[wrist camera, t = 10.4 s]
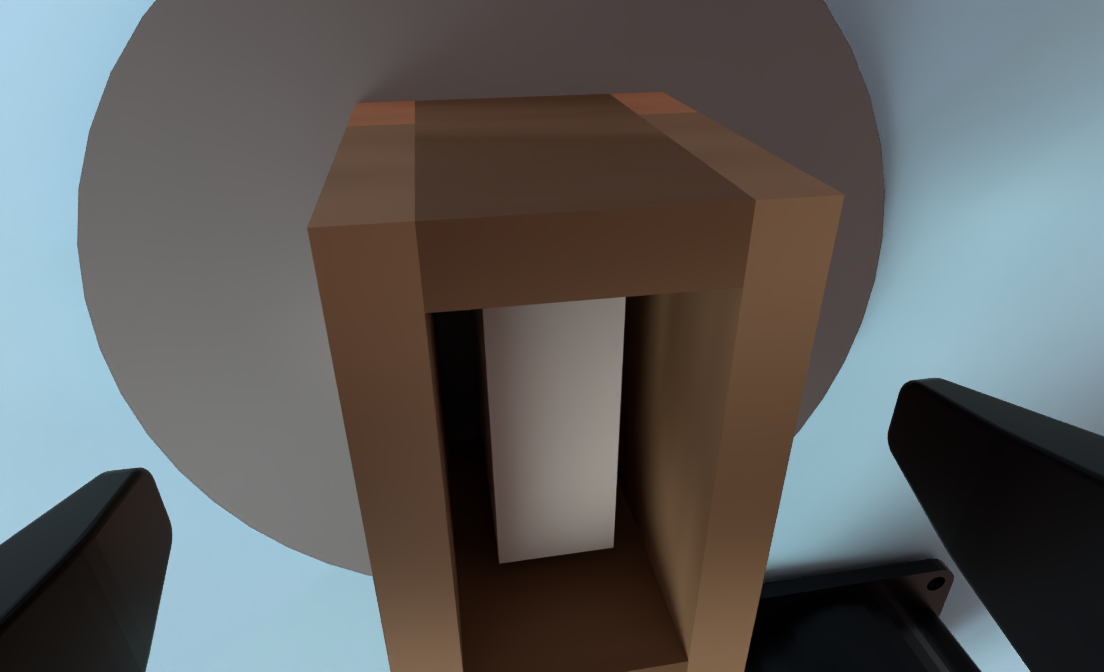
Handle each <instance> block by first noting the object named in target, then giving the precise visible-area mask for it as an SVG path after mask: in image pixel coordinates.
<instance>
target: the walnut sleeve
mask: <svg viewBox="0 0 1104 672" xmlns="http://www.w3.org/2000/svg"><path fill="white" fill-rule="evenodd" d="M844 196H845V195H844V194H843V193H841V192H839V191H837V190H836V189H834V188H832V187H830V186H828V185H827V184H825V183H823V182H821V181H820V180H818V179H816V178H814V177H812V176H811V175H809V174H807V173H805V172H804V171H802V170H800V169H798V168H796V167H795V166H793V165H791V164H789V163H788V162H786V161H784V160H782V159H781V158H779V157H777V156H775V155H773V154H772V153H770V152H768V151H766V150H765V149H763V148H761V147H759V146H757V145H756V144H754V143H752V142H750V141H749V140H747V139H745V138H743V137H741V136H740V135H738V134H736V133H734V132H733V131H731V130H729V129H727V128H725V127H724V126H722V125H720V124H718V123H717V122H715V121H713V120H711V119H709V118H708V117H706V116H704V115H702V114H701V113H699V112H697V111H695V110H693V109H692V108H690V107H688V106H686V105H685V104H683V103H681V102H679V101H677V100H676V99H674V98H672V97H670V96H669V95H667V94H665V93H663V92H643V93H615V94H588V95H560V96H532V97H505V98H477V99H449V100H421V101H394V102H366V103H356V104H355V107H354V109H353V112H352V114H351V117H350V120H349V122H348V125H347V127H346V130H345V132H344V135H343V137H342V140H341V143H340V145H339V148H338V150H337V153H336V155H335V158H334V160H333V163H332V166H331V168H330V171H329V173H328V176H327V178H326V181H325V183H324V186H323V189H322V191H321V194H320V196H319V199H318V201H317V204H316V206H315V209H314V212H313V214H312V217H311V219H310V222H309V224H308V227H307V230H308V235H309V241H310V246H311V251H312V257H313V262H314V267H315V273H316V278H317V283H318V288H319V294H320V299H321V304H322V310H323V315H324V320H325V326H326V331H327V336H328V341H329V347H330V352H331V357H332V363H333V368H334V373H335V379H336V384H337V389H338V395H339V400H340V405H341V410H342V416H343V421H344V426H345V432H346V437H347V442H348V448H349V453H350V458H351V464H352V469H353V474H354V479H355V485H356V490H357V495H358V501H359V506H360V511H361V517H362V522H363V527H364V533H365V538H366V543H367V548H368V554H369V559H370V564H371V570H372V575H373V580H374V586H375V591H376V596H377V602H378V607H379V612H380V617H381V623H382V628H383V633H384V639H385V644H386V649H387V655H388V660H389V665H390V670H391V672H744V670H745V665H746V660H747V656H748V651H749V646H750V641H751V637H752V632H753V627H754V622H755V618H756V613H757V608H758V603H759V599H760V594H761V589H762V584H763V580H764V575H765V570H766V565H767V561H768V556H769V551H770V547H771V542H772V537H773V532H774V528H775V523H776V518H777V513H778V509H779V504H780V499H781V494H782V490H783V485H784V480H785V475H786V471H787V466H788V461H789V456H790V452H791V447H792V442H793V437H794V433H795V428H796V423H797V418H798V414H799V409H800V404H801V400H802V395H803V390H804V385H805V381H806V376H807V371H808V366H809V362H810V357H811V352H812V347H813V343H814V338H815V333H816V328H817V324H818V319H819V314H820V309H821V305H822V300H823V295H824V290H825V286H826V281H827V276H828V271H829V267H830V262H831V257H832V253H833V248H834V243H835V238H836V234H837V229H838V224H839V219H840V215H841V210H842V205H843V200H844ZM618 297H626V301H625V322H624V342H623V362H622V383H621V403H620V423H619V444H618V464H617V485H616V505H615V525H614V546H613V548H607V549H600V550H593V551H586V552H579V553H571V554H564V555H557V556H550V557H543V558H536V559H529V560H522V561H515V562H508V563H500V564H499V558H498V551H497V543H496V536H495V529H494V522H493V514H492V507H491V500H490V493H489V486H488V478H487V471H486V464H485V457H484V449H483V442H482V439H473V440H463V441H454V442H448V434H447V424H446V414H445V404H444V394H443V383H442V373H441V363H440V353H439V343H438V332H437V322H436V312H447V311H459V310H471V309H484V308H496V307H508V306H520V305H533V304H545V303H557V302H569V301H582V300H594V299H606V298H618Z"/></svg>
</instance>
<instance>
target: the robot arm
mask: <svg viewBox="0 0 1104 672" xmlns="http://www.w3.org/2000/svg"><path fill="white" fill-rule="evenodd" d="M888 444H889V448H890V451H891V453H892V455H893V456H894V458H895V460H896V462H897V464H898V465H899V467H900V469H901V471H902V472H903V474H904V476H905V478H906V480H907V481H908V483H909V485H910V487H911V488H912V490H913V492H914V494H915V496H916V497H917V499H918V501H919V503H920V504H921V506H922V508H923V510H924V512H925V513H926V515H927V517H928V519H929V521H930V522H931V524H932V526H933V528H934V529H935V531H936V533H937V535H938V536H939V538H940V540H941V541H942V543H943V545H944V547H945V548H946V550H947V552H948V553H949V555H950V556H951V558H952V559H953V561H954V562H955V564H956V565H957V567H958V568H959V570H960V571H961V573H962V574H963V576H964V577H965V578H966V580H967V581H968V583H969V584H970V586H971V587H972V588H973V590H974V591H975V593H976V594H977V596H978V597H979V599H980V600H981V601H982V603H983V604H984V606H985V607H986V609H987V610H988V611H989V613H990V614H991V616H992V617H993V619H994V620H995V621H996V623H997V624H998V626H999V627H1000V629H1001V630H1002V632H1003V633H1004V634H1005V636H1006V637H1007V639H1008V640H1009V642H1010V643H1011V644H1012V646H1013V647H1014V649H1015V650H1016V652H1017V653H1018V655H1019V656H1020V657H1021V659H1022V660H1023V662H1024V663H1025V665H1026V666H1027V667H1028V669H1029V670H1030V672H1104V436H1101V435H1098V434H1095V433H1092V432H1090V431H1087V430H1084V429H1081V428H1078V427H1076V426H1073V425H1070V424H1067V423H1064V422H1062V421H1059V420H1056V419H1053V418H1050V417H1048V416H1045V415H1042V414H1039V413H1037V412H1034V411H1031V410H1028V409H1025V408H1023V407H1020V406H1017V405H1014V404H1011V403H1009V402H1006V401H1003V400H1000V399H997V398H995V397H992V396H989V395H986V394H983V393H981V392H978V391H975V390H972V389H969V388H967V387H964V386H961V385H958V384H955V383H953V382H950V381H947V380H944V379H941V378H928V379H919V380H911V381H909V382H907V383H905V384H904V385H903V386H902V388H901V389H900V392H899V395H898V399H897V402H896V406H895V409H894V413H893V416H892V419H891V423H890V426H889V430H888ZM171 544H172V527H171V523H170V520H169V517H168V514H167V512H166V509H165V506H164V504H163V501H162V499H161V496H160V493H159V491H158V488H157V486H156V483H155V480H154V478H153V476H152V475H151V473H150V472H149V471H148V470H146V469H144V468H131V469H122V470H113V471H107V472H104V473H101V474H100V475H98V476H97V477H95V478H94V479H93V480H91V481H90V482H88V483H87V484H86V485H84V486H83V487H81V488H80V489H78V490H77V491H76V492H74V493H73V494H71V495H70V496H69V497H67V498H66V499H64V500H63V501H61V502H60V503H59V504H57V505H56V506H54V507H53V508H52V509H50V510H49V511H47V512H46V513H45V514H43V515H42V516H40V517H39V518H37V519H36V520H35V521H33V522H32V523H30V524H29V525H28V526H26V527H25V528H23V529H22V530H20V531H19V532H18V533H16V534H15V535H13V536H12V537H11V538H9V539H8V540H6V541H5V542H3V543H2V544H1V545H0V672H146V667H147V663H148V659H149V654H150V649H151V644H152V639H153V634H154V629H155V625H156V620H157V615H158V610H159V605H160V600H161V595H162V590H163V585H164V580H165V575H166V570H167V565H168V560H169V555H170V550H171ZM953 579H954V575H953V574H952V572H951V571H950V570H949V568H948V567H947V566H946V565H945V564H944V563H943V562H942V561H941V560H939V559H925V560H919V561H912V562H906V563H899V564H893V565H886V566H880V567H873V568H867V569H860V570H854V571H847V572H841V573H834V574H828V575H821V576H815V577H808V578H802V579H795V580H789V581H782V582H776V583H769V584H763V585H762V589H761V594H760V599H759V603H758V608H757V613H756V618H755V622H754V627H753V632H752V637H751V641H750V646H749V651H748V656H747V660H746V665H745V670H744V672H982V671H981V670H980V669H979V668H978V666H977V665H976V664H975V663H974V661H973V660H972V659H971V658H970V656H969V655H968V654H967V652H966V651H965V650H964V649H963V647H962V646H961V645H960V644H959V642H958V641H957V640H956V638H955V637H954V636H953V635H952V633H951V632H950V631H949V630H948V628H947V627H946V626H945V625H944V623H943V622H942V621H941V619H940V618H939V615H940V613H941V610H942V608H943V605H944V603H945V600H946V598H947V595H948V593H949V590H950V588H951V585H952V583H953Z"/></svg>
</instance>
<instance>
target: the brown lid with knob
mask: <svg viewBox="0 0 1104 672" xmlns="http://www.w3.org/2000/svg"><path fill="white" fill-rule="evenodd" d="M643 92H663V93H665V94H667V95H669V96H670V97H672V98H674V99H676V100H677V101H679V102H681V103H683V104H685V105H686V106H688V107H690V108H692V109H693V110H695V111H697V112H699V113H701V114H702V115H704V116H706V117H708V118H709V119H711V120H713V121H715V122H717V123H718V124H720V125H722V126H724V127H725V128H727V129H729V130H731V131H733V132H734V133H736V134H738V135H740V136H741V137H743V138H745V139H747V140H749V141H750V142H752V143H754V144H756V145H757V146H759V147H761V148H763V149H765V150H766V151H768V152H770V153H772V154H773V155H775V156H777V157H779V158H781V159H782V160H784V161H786V162H788V163H789V164H791V165H793V166H795V167H796V168H798V169H800V170H802V171H804V172H805V173H807V174H809V175H811V176H812V177H814V178H816V179H818V180H820V181H821V182H823V183H825V184H827V185H828V186H830V187H832V188H834V189H836V190H837V191H839V192H841V193H843V194H844V195H845V196H844V200H843V205H842V210H841V215H840V219H839V224H838V229H837V234H836V238H835V243H834V248H833V253H832V257H831V262H830V267H829V271H828V276H827V281H826V286H825V290H824V295H823V300H822V305H821V309H820V314H819V319H818V324H817V328H816V333H815V338H814V343H813V347H812V352H811V357H810V362H809V366H808V371H807V376H806V381H805V385H804V390H803V395H802V400H801V404H800V409H799V414H798V418H797V423H796V428H795V433H794V436H795V435H796V434H797V433H798V432H799V431H800V429H801V428H802V427H803V425H804V424H805V422H806V421H807V420H808V418H809V417H810V416H811V414H812V413H813V412H814V410H815V409H816V407H817V406H818V405H819V403H820V402H821V401H822V399H823V398H824V396H825V395H826V393H827V391H828V389H829V388H830V386H831V384H832V382H833V381H834V379H835V377H836V376H837V374H838V372H839V370H840V369H841V367H842V365H843V363H844V362H845V360H846V357H847V355H848V353H849V350H850V348H851V346H852V344H853V341H854V339H855V337H856V335H857V332H858V330H859V328H860V325H861V323H862V320H863V317H864V314H865V310H866V307H867V304H868V301H869V298H870V294H871V291H872V288H873V285H874V281H875V276H876V270H877V265H878V259H879V253H880V248H881V242H882V235H883V215H884V195H885V190H884V178H883V166H882V154H881V144H880V139H879V135H878V130H877V126H876V122H875V117H874V113H873V109H872V104H871V100H870V96H869V93H868V91H867V88H866V85H865V83H864V80H863V78H862V75H861V73H860V70H859V67H858V65H857V62H856V60H855V57H854V55H853V52H852V49H851V47H850V46H849V44H848V42H847V40H846V39H845V37H844V35H843V33H842V32H841V30H840V28H839V26H838V25H837V23H836V21H835V19H834V18H833V16H832V14H831V12H830V11H829V9H828V7H827V5H826V4H825V2H824V1H823V0H156V1H155V2H154V3H153V5H152V6H151V7H150V8H149V10H148V11H147V12H146V13H145V14H144V16H143V17H142V19H141V20H140V22H139V24H138V26H137V27H136V29H135V31H134V33H133V34H132V36H131V38H130V40H129V41H128V43H127V45H126V47H125V48H124V50H123V52H122V54H121V55H120V57H119V59H118V61H117V63H116V64H115V66H114V68H113V70H112V71H111V73H110V76H109V79H108V81H107V84H106V87H105V90H104V92H103V95H102V98H101V100H100V103H99V106H98V109H97V111H96V114H95V117H94V120H93V122H92V125H91V128H90V131H89V136H88V141H87V146H86V152H85V157H84V162H83V168H82V173H81V178H80V184H79V191H78V238H77V246H78V254H79V261H80V268H81V275H82V282H83V290H84V297H85V301H86V305H87V308H88V311H89V315H90V318H91V321H92V325H93V328H94V331H95V334H96V338H97V341H98V344H99V348H100V350H101V352H102V355H103V357H104V359H105V361H106V363H107V365H108V367H109V369H110V372H111V374H112V376H113V378H114V380H115V382H116V384H117V386H118V389H119V391H120V393H121V395H122V396H123V398H124V399H125V401H126V402H127V404H128V405H129V407H130V408H131V410H132V411H133V413H134V415H135V416H136V418H137V419H138V421H139V422H140V424H141V425H142V427H143V428H144V430H145V431H146V433H147V434H148V436H149V437H150V438H151V439H152V440H153V441H154V443H155V444H156V445H157V446H158V447H159V448H160V449H161V451H162V452H163V453H164V454H165V455H166V456H167V458H168V459H169V460H170V461H171V462H172V463H173V464H174V466H175V467H176V468H177V469H178V470H179V471H180V472H181V473H182V474H183V475H184V476H185V477H187V478H188V479H189V480H190V481H191V482H192V483H193V484H194V485H196V486H197V487H198V488H199V489H200V490H201V491H202V492H203V493H204V494H206V495H207V496H208V497H209V498H210V499H211V500H212V501H214V502H215V503H216V504H218V505H219V506H221V507H222V508H224V509H225V510H226V511H228V512H229V513H231V514H232V515H234V516H235V517H237V518H238V519H239V520H241V521H242V522H244V523H245V524H247V525H248V526H249V527H251V528H253V529H255V530H257V531H259V532H260V533H262V534H264V535H266V536H268V537H270V538H272V539H273V540H275V541H277V542H279V543H281V544H283V545H285V546H286V547H288V548H291V549H293V550H296V551H298V552H301V553H303V554H306V555H308V556H310V557H313V558H315V559H318V560H320V561H323V562H325V563H328V564H331V565H335V566H338V567H341V568H345V569H348V570H352V571H355V572H359V573H362V574H365V575H370V576H373V575H372V570H371V564H370V559H369V554H368V548H367V543H366V538H365V533H364V527H363V522H362V517H361V511H360V506H359V501H358V495H357V490H356V485H355V479H354V474H353V469H352V464H351V458H350V453H349V448H348V442H347V437H346V432H345V426H344V421H343V416H342V410H341V405H340V400H339V395H338V389H337V384H336V379H335V373H334V368H333V363H332V357H331V352H330V347H329V341H328V336H327V331H326V326H325V320H324V315H323V310H322V304H321V299H320V294H319V288H318V283H317V278H316V273H315V267H314V262H313V257H312V251H311V246H310V241H309V235H308V230H307V227H308V224H309V222H310V219H311V217H312V214H313V212H314V209H315V206H316V204H317V201H318V199H319V196H320V194H321V191H322V189H323V186H324V183H325V181H326V178H327V176H328V173H329V171H330V168H331V166H332V163H333V160H334V158H335V155H336V153H337V150H338V148H339V145H340V143H341V140H342V137H343V135H344V132H345V130H346V127H347V125H348V122H349V120H350V117H351V114H352V112H353V109H354V107H355V104H356V103H366V102H394V101H421V100H449V99H477V98H505V97H532V96H560V95H588V94H615V93H643ZM625 301H626V297H618V298H606V299H594V300H582V301H569V302H557V303H545V304H533V305H520V306H508V307H496V308H484V309H471V310H459V311H447V312H436V322H437V332H438V343H439V353H440V363H441V373H442V383H443V394H444V404H445V414H446V424H447V434H448V442H454V441H463V440H473V439H482V442H483V449H484V457H485V464H486V471H487V478H488V486H489V493H490V500H491V507H492V514H493V522H494V529H495V536H496V543H497V551H498V558H499V564H500V563H508V562H515V561H522V560H529V559H536V558H543V557H550V556H557V555H564V554H571V553H579V552H586V551H593V550H600V549H607V548H613V546H614V525H615V505H616V485H617V464H618V444H619V423H620V403H621V383H622V362H623V342H624V322H625Z"/></svg>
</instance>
